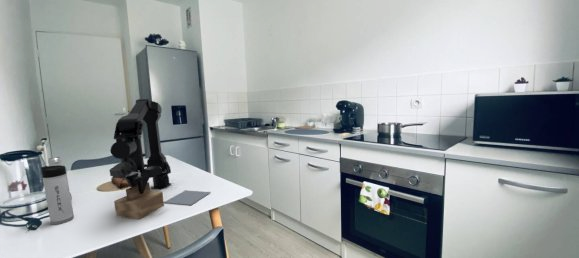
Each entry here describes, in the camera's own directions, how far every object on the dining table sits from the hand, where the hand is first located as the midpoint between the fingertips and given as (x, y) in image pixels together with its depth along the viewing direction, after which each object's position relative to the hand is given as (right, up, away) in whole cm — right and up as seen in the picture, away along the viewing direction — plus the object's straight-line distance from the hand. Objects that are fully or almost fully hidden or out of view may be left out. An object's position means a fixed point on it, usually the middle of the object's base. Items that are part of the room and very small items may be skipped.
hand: (138, 193), depth 95 cm
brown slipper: (-28, -4, +36) cm, 46 cm away
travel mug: (-25, -9, -4) cm, 27 cm away
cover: (0, -7, +1) cm, 7 cm away
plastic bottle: (-38, -8, +10) cm, 40 cm away
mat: (+14, -5, +11) cm, 18 cm away
